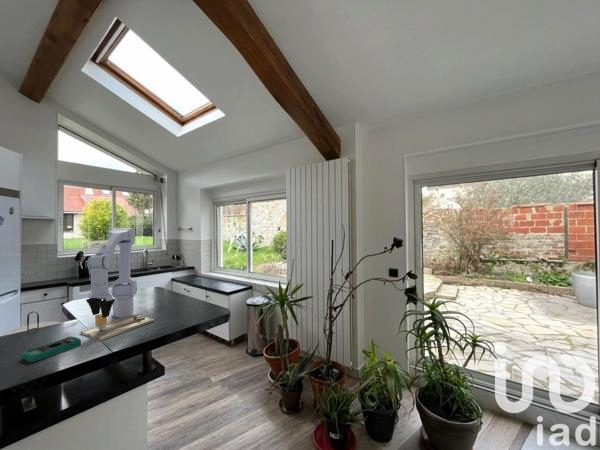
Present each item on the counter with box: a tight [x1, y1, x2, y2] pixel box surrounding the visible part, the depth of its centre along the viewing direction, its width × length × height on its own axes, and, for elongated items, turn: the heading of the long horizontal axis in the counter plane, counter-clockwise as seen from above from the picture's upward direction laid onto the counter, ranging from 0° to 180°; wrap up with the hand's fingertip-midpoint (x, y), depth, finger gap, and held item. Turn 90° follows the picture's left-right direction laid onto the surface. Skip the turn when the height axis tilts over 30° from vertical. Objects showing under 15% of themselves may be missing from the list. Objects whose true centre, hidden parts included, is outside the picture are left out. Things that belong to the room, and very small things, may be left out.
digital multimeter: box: [22, 336, 82, 363], centre depth 96 cm, size 7×15×3 cm, turn 155°
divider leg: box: [94, 313, 109, 331], centre depth 111 cm, size 6×3×7 cm, turn 62°
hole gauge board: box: [79, 312, 155, 342], centre depth 118 cm, size 16×22×4 cm
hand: (100, 315), depth 111 cm, fingers open, 7 cm apart
